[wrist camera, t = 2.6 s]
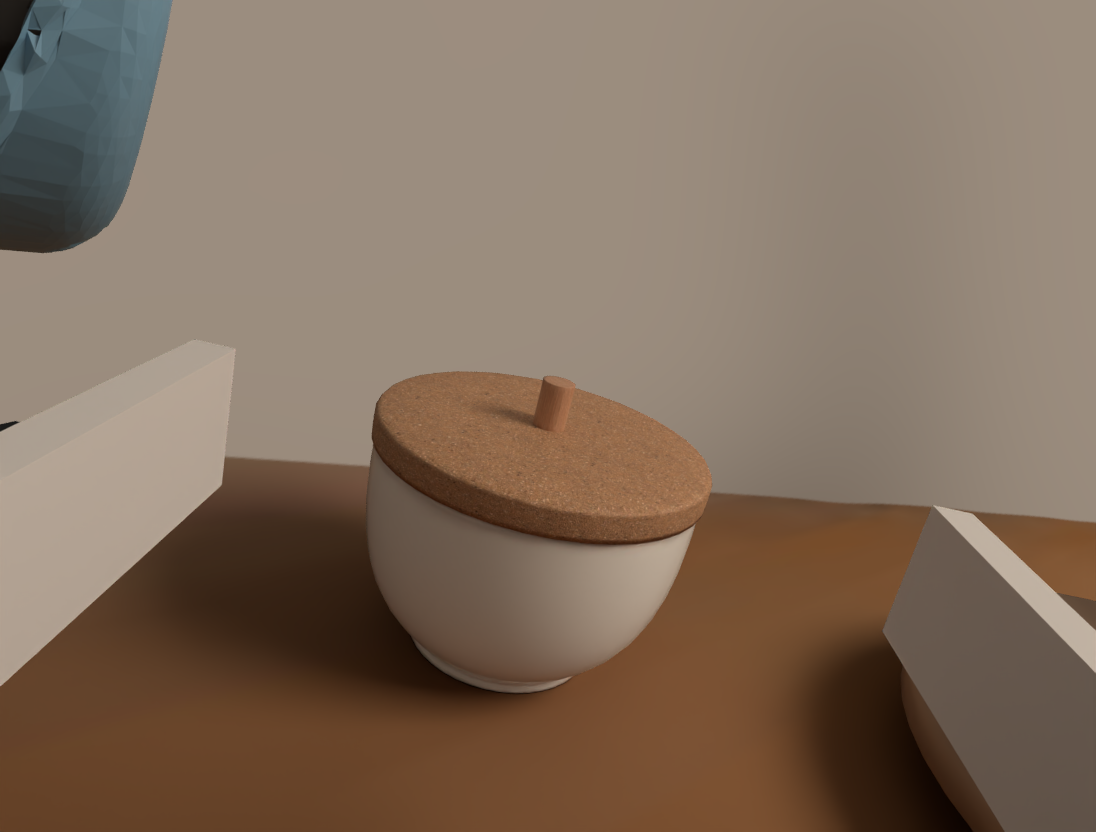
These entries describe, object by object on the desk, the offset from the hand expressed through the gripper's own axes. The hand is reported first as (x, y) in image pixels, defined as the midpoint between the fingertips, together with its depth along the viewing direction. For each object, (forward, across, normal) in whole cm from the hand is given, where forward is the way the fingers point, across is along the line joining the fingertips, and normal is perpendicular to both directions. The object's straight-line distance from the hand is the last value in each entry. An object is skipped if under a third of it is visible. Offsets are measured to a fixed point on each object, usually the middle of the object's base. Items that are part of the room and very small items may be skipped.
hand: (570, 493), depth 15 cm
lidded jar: (+11, 0, -10) cm, 15 cm away
